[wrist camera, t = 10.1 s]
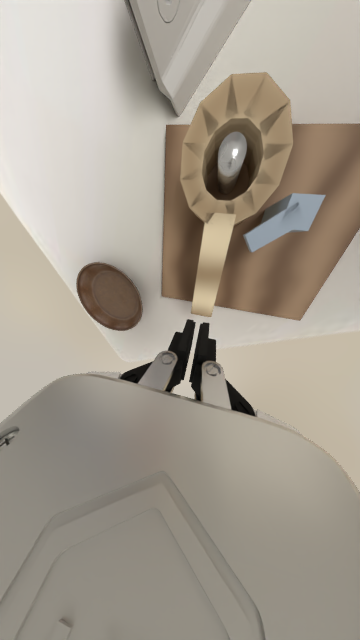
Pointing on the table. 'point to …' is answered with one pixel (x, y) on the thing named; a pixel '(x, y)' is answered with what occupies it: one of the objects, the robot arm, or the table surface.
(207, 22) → the white rounded block
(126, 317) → the saucer
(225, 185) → the peg
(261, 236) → the bracket
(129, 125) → the table surface
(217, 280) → the link
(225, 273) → the board
